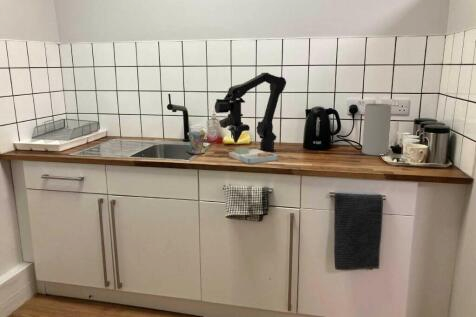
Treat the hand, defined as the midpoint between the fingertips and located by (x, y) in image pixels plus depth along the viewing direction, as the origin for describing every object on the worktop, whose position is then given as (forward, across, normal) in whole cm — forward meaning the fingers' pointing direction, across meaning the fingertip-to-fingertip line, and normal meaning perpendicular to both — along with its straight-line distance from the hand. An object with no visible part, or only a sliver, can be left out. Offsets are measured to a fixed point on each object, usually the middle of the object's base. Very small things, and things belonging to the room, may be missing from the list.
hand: (235, 142), depth 203 cm
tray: (+6, +17, +3) cm, 18 cm away
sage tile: (+4, +7, 0) cm, 8 cm away
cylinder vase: (+6, +32, +64) cm, 72 cm away
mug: (+6, -12, -17) cm, 22 cm away
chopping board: (+6, +7, +3) cm, 10 cm away
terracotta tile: (+6, +16, +7) cm, 19 cm away
